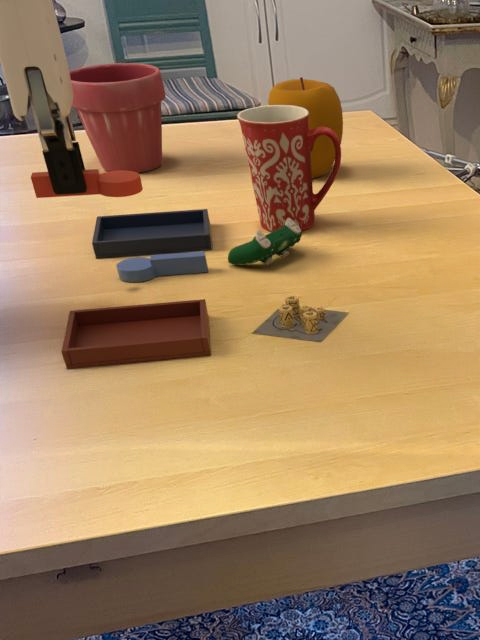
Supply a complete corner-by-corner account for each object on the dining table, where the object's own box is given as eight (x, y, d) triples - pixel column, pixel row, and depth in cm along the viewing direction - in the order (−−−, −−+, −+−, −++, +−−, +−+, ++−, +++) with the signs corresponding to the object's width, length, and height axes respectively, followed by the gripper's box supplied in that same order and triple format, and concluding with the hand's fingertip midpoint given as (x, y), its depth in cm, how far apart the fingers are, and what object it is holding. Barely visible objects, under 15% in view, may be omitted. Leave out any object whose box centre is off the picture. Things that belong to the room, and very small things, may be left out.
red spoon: (35, 202, 94) (29, 181, 93) (39, 189, 97) (33, 168, 96) (142, 196, 96) (138, 175, 95) (143, 183, 99) (138, 162, 98)
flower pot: (73, 161, 148) (49, 68, 139) (160, 148, 154) (142, 57, 145) (100, 184, 139) (76, 86, 130) (191, 169, 145) (174, 75, 136)
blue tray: (95, 258, 117) (91, 243, 116) (100, 231, 124) (96, 216, 123) (212, 249, 119) (209, 234, 118) (209, 223, 127) (207, 208, 125)
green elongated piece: (242, 284, 116) (264, 256, 111) (222, 257, 115) (243, 228, 110) (291, 261, 121) (313, 233, 117) (272, 235, 121) (294, 207, 116)
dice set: (315, 335, 101) (313, 317, 99) (272, 329, 102) (269, 311, 100) (333, 316, 104) (331, 299, 103) (291, 311, 105) (289, 294, 104)
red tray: (66, 369, 94) (61, 351, 93) (74, 327, 102) (69, 310, 100) (210, 355, 97) (207, 337, 96) (208, 315, 104) (205, 298, 103)
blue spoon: (207, 263, 116) (204, 246, 115) (208, 276, 113) (205, 259, 111) (120, 270, 114) (115, 253, 113) (118, 283, 111) (114, 266, 109)
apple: (362, 173, 144) (355, 77, 135) (306, 188, 138) (296, 89, 130) (316, 159, 150) (307, 66, 141) (261, 173, 144) (248, 77, 135)
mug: (246, 235, 123) (229, 121, 114) (260, 212, 130) (245, 103, 121) (342, 237, 123) (332, 123, 114) (351, 214, 130) (342, 105, 121)
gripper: (-21, -40, 88) (39, 170, 101) (-46, -17, 77) (25, 217, 90) (63, -42, 90) (112, 165, 102) (50, -19, 79) (107, 211, 91)
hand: (71, 188), depth 96 cm, fingers closed on red spoon, 1 cm apart
